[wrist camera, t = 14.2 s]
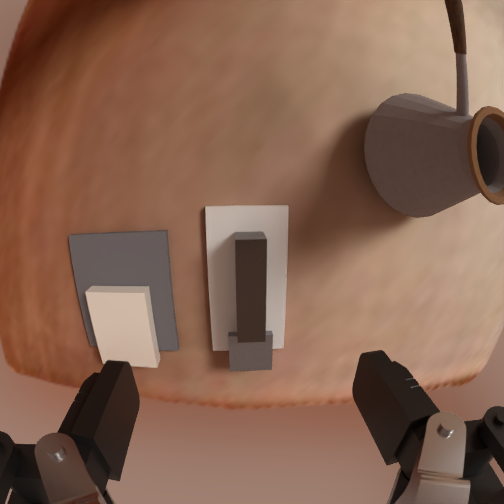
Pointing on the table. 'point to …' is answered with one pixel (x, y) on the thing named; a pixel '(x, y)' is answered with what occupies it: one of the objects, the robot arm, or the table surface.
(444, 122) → the coffee pot
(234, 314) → the rest pad
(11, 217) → the table surface
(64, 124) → the table surface
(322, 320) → the table surface
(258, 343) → the grey post on base
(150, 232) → the mat
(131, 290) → the tile
